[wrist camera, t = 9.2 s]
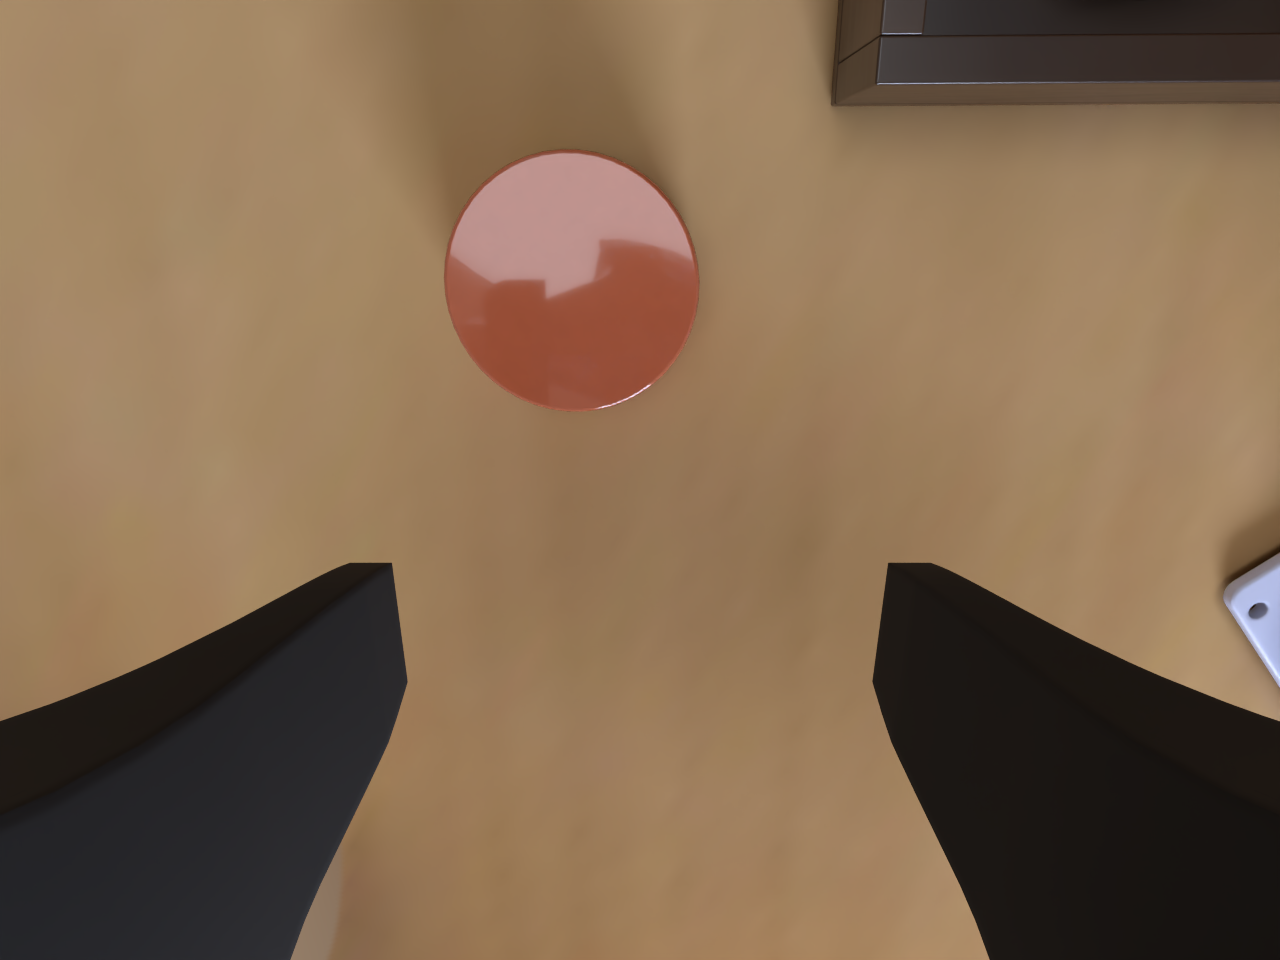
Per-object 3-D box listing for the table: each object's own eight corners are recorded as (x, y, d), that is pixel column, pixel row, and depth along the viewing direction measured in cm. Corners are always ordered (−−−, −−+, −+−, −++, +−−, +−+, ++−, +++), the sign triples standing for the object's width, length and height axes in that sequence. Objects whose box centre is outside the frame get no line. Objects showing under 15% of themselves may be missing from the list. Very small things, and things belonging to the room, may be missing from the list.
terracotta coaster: (737, 291, 18) (751, 303, 16) (572, 429, 20) (563, 459, 17) (588, 100, 17) (581, 86, 15) (420, 264, 18) (389, 273, 16)
